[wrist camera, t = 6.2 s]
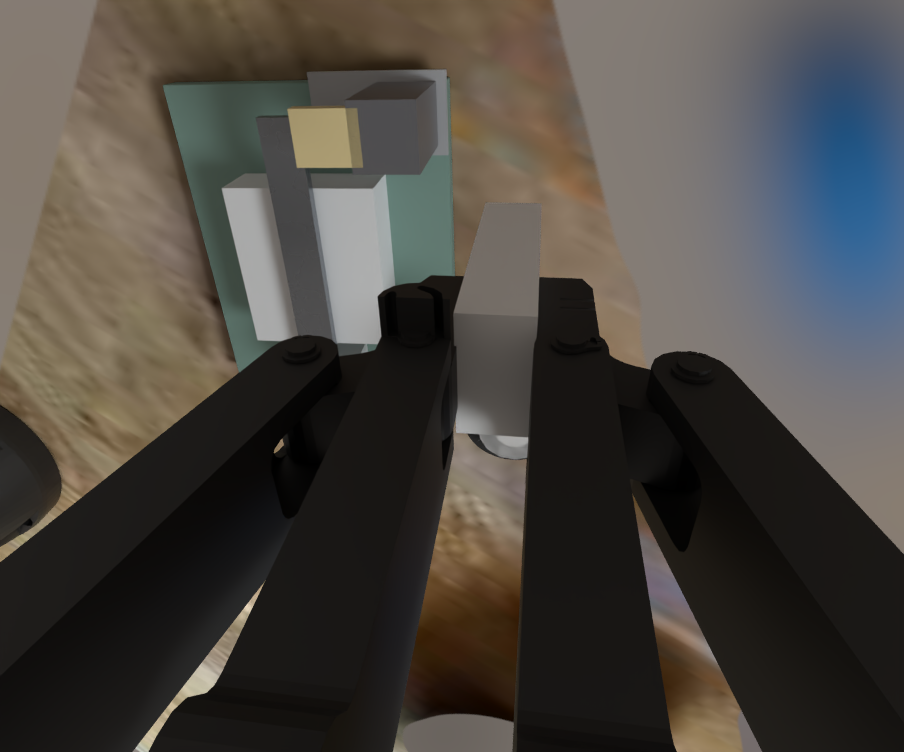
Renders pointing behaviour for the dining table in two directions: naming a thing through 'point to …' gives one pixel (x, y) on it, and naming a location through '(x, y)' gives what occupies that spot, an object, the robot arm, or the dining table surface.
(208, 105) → the board
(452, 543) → the dining table surface
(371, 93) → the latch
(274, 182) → the strap
